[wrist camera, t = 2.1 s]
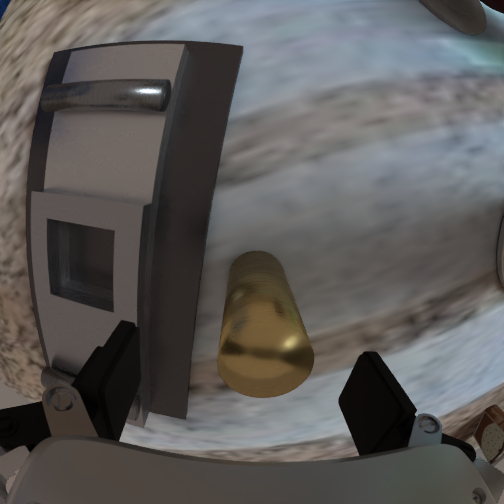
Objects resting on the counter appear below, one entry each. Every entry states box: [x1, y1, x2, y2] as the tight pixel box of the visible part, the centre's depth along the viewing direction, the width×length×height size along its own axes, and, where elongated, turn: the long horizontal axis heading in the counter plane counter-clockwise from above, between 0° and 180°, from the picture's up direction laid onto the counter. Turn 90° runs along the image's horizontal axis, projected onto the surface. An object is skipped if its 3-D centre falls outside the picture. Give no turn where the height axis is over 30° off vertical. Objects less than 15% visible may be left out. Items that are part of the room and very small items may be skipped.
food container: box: [473, 405, 504, 466], centre depth 25 cm, size 12×6×10 cm, turn 18°
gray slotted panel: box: [26, 41, 243, 428], centre depth 17 cm, size 16×32×6 cm, turn 169°
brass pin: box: [217, 251, 314, 398], centre depth 16 cm, size 4×4×10 cm
